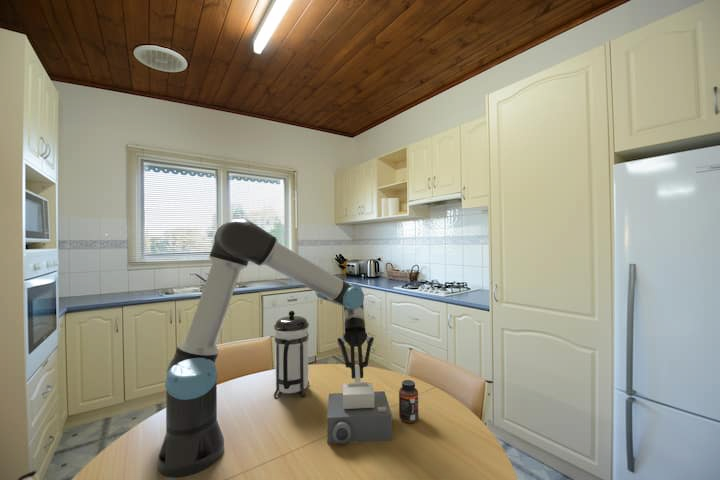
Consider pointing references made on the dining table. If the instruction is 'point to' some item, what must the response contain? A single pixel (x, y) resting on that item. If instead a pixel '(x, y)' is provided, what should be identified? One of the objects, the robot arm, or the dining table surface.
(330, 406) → the gray box
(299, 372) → the coffee press
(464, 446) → the dining table surface
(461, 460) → the dining table surface
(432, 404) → the dining table surface
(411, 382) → the supplement bottle
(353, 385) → the hatch door
